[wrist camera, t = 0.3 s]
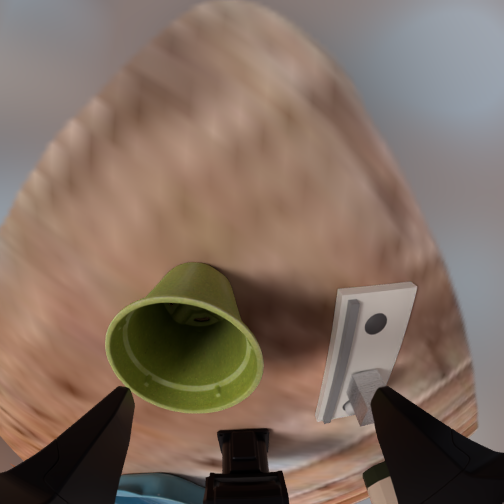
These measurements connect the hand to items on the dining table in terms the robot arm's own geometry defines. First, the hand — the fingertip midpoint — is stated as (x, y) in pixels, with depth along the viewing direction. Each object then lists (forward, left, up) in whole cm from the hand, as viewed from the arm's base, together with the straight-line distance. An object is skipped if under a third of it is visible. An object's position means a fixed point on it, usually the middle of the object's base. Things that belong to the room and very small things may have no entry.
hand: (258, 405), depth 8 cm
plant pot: (-3, +4, -14) cm, 15 cm away
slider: (-14, -12, -13) cm, 23 cm away
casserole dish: (-54, +15, -15) cm, 58 cm away
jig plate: (-12, -12, -14) cm, 22 cm away
